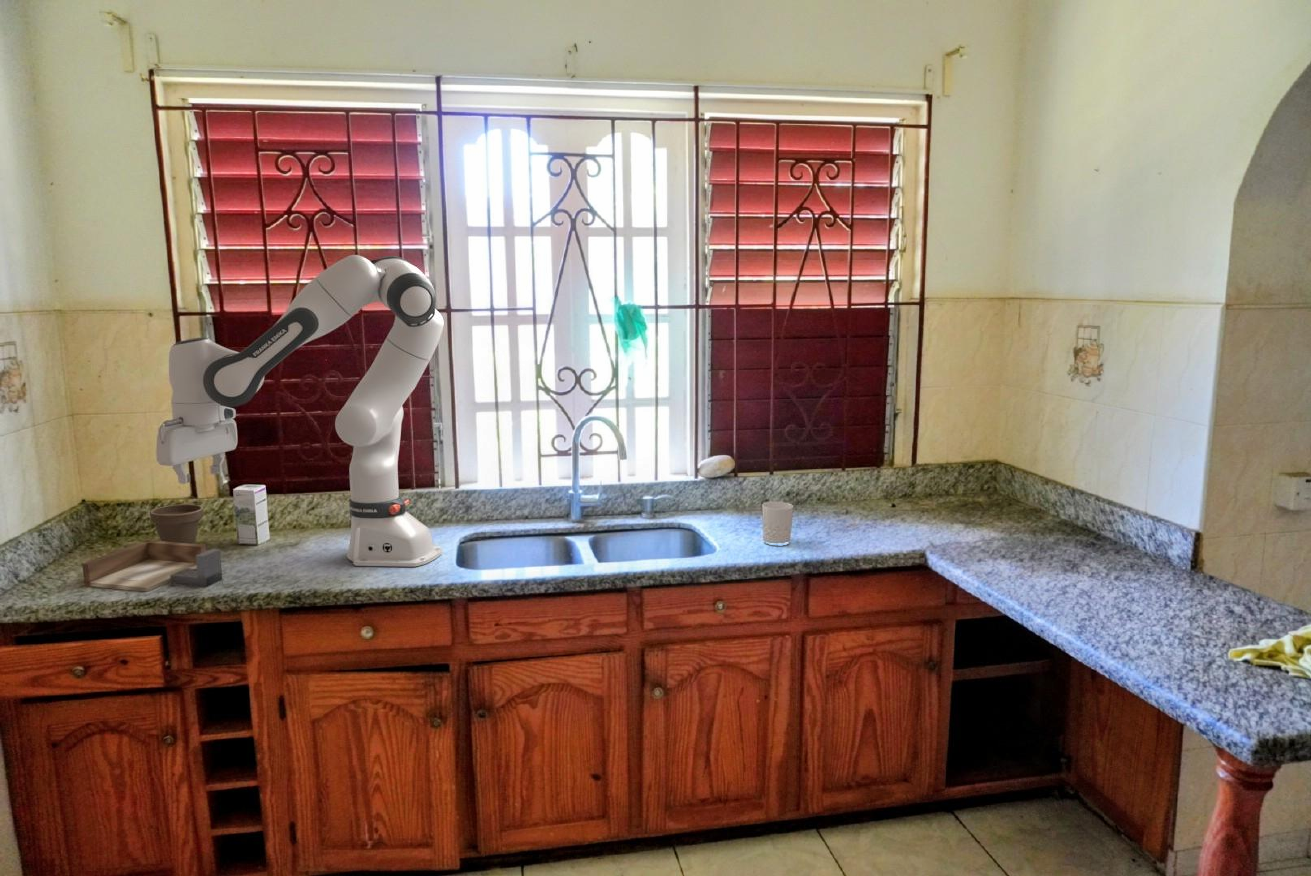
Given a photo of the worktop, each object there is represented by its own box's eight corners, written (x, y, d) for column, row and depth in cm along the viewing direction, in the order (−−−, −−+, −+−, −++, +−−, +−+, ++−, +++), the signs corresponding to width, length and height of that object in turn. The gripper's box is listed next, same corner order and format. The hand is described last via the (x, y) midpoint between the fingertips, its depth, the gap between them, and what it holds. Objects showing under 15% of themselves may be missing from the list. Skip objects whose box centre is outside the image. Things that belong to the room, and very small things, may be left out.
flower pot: (209, 539, 222) (206, 501, 221) (202, 552, 212) (198, 512, 210) (159, 543, 219) (155, 505, 217) (148, 557, 208) (144, 516, 206)
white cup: (796, 541, 224) (798, 504, 223) (784, 549, 218) (785, 510, 216) (769, 536, 229) (770, 500, 227) (755, 544, 222) (757, 506, 220)
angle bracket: (222, 579, 193) (219, 549, 192) (206, 587, 188) (203, 556, 187) (187, 576, 195) (184, 546, 194) (170, 583, 190) (167, 553, 189)
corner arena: (207, 565, 202) (205, 544, 201) (147, 591, 185) (145, 569, 184) (149, 560, 206) (147, 540, 205) (84, 585, 188) (82, 563, 188)
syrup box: (270, 538, 224) (266, 484, 221) (258, 545, 218) (253, 489, 215) (249, 538, 224) (245, 483, 222) (236, 544, 218) (232, 488, 216)
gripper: (172, 422, 174) (177, 490, 176) (240, 408, 193) (245, 469, 196) (145, 421, 175) (150, 487, 177) (216, 407, 195) (220, 467, 197)
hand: (200, 478), depth 187 cm, fingers open, 8 cm apart
